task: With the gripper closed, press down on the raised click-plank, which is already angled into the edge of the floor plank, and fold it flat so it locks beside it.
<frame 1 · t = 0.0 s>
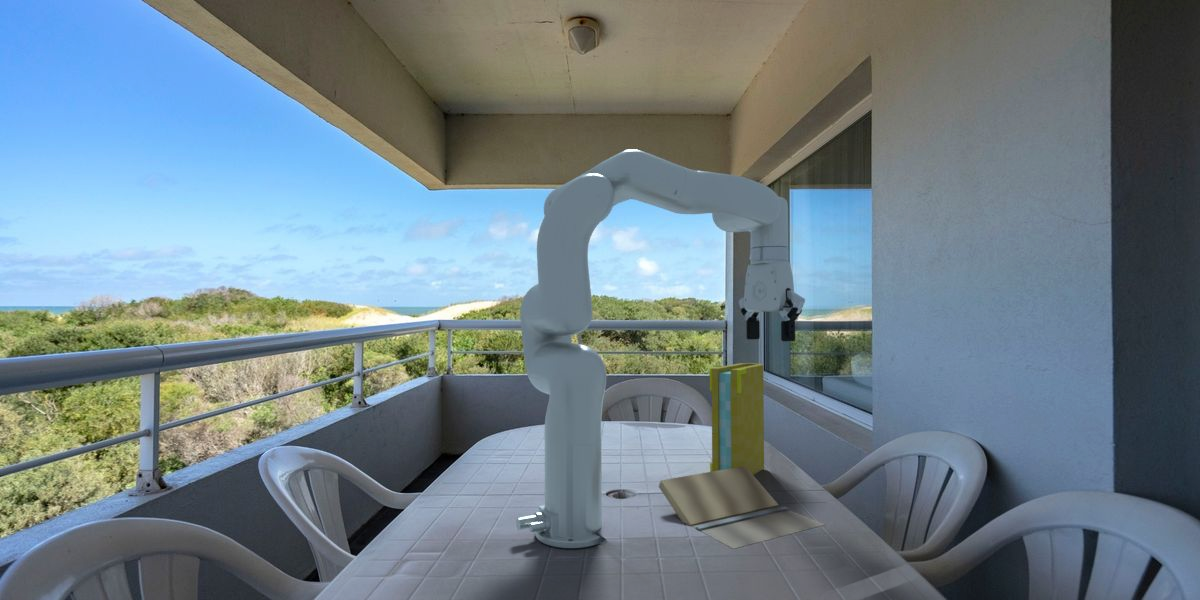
hand: (770, 340, 115), 31 cm above the table, fingers open, 9 cm apart
laid plank: (759, 534, 93), on the table
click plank: (718, 495, 101), point 4 cm above the table, hinge at 30.0°
book: (741, 480, 124), on the table
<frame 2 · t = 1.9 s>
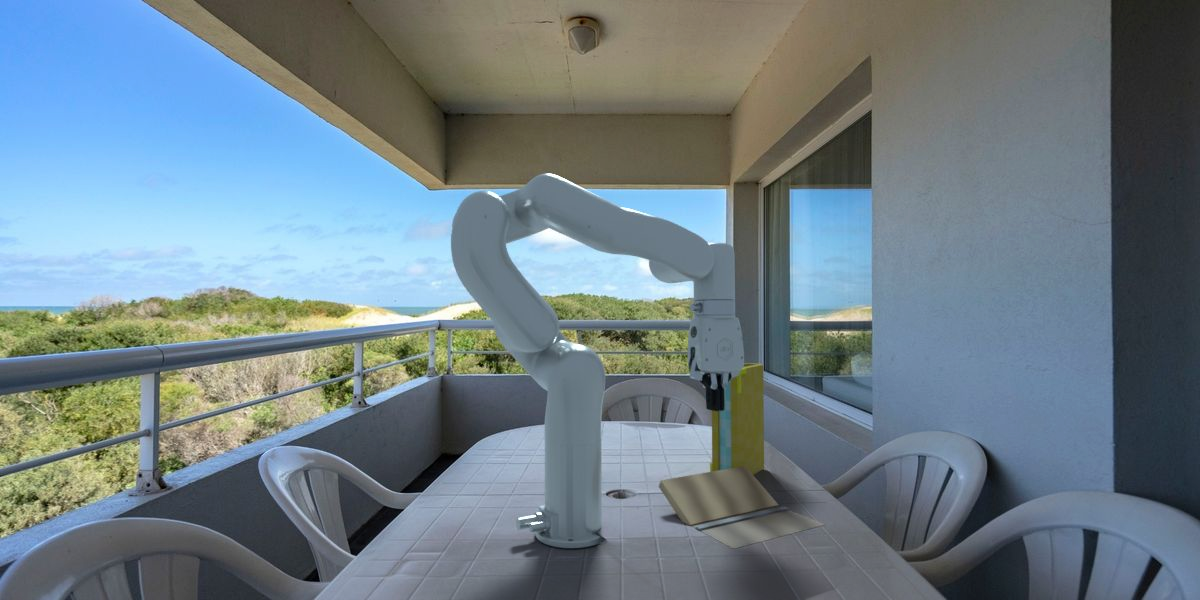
hand: (715, 409, 103), 19 cm above the table, fingers closed
nothing on the table moved.
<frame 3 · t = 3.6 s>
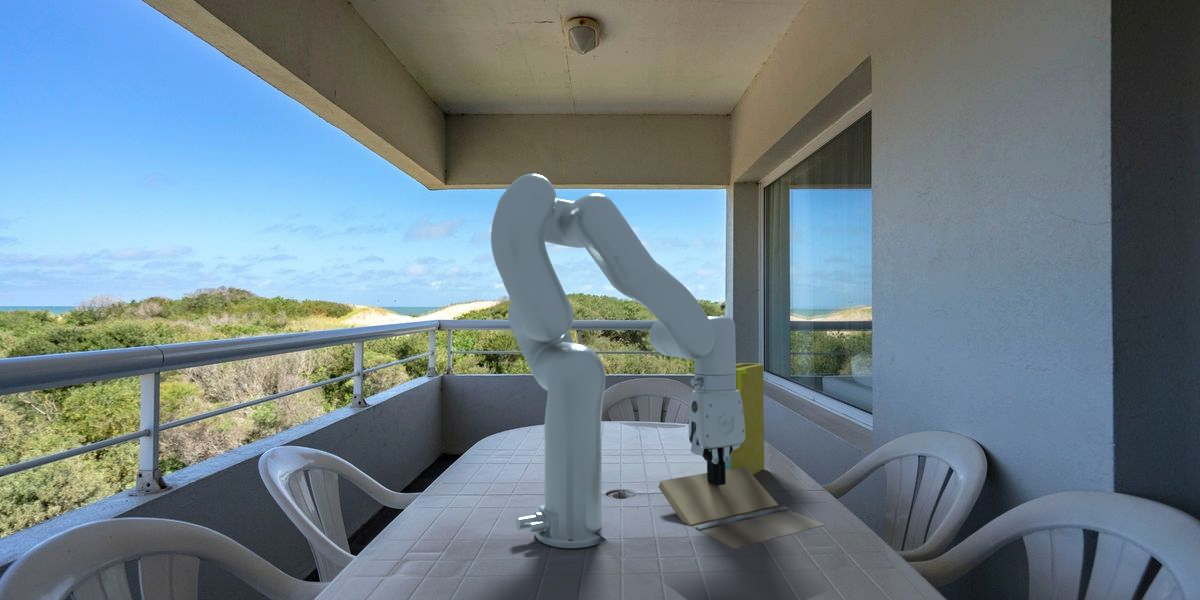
hand: (716, 483, 102), 6 cm above the table, fingers closed
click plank: (718, 495, 101), point 3 cm above the table, hinge at 29.2°, touching gripper
everything else where it was.
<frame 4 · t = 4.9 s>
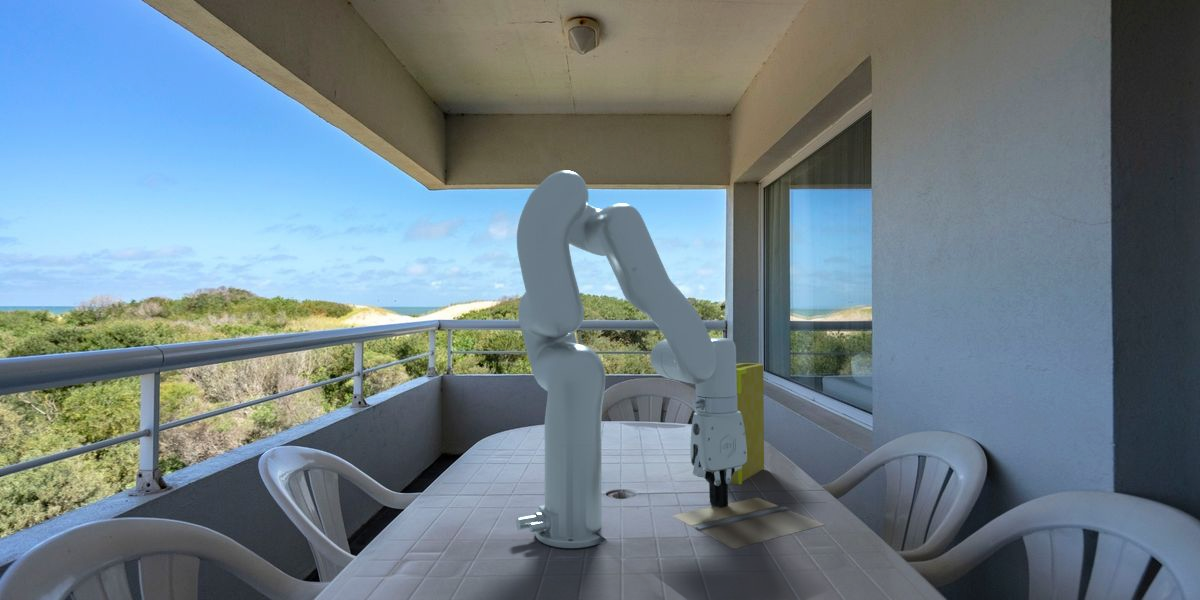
hand: (718, 504, 103), 1 cm above the table, fingers closed
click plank: (717, 510, 102), point 1 cm above the table, hinge at -0.5°, touching gripper
everything else where it was.
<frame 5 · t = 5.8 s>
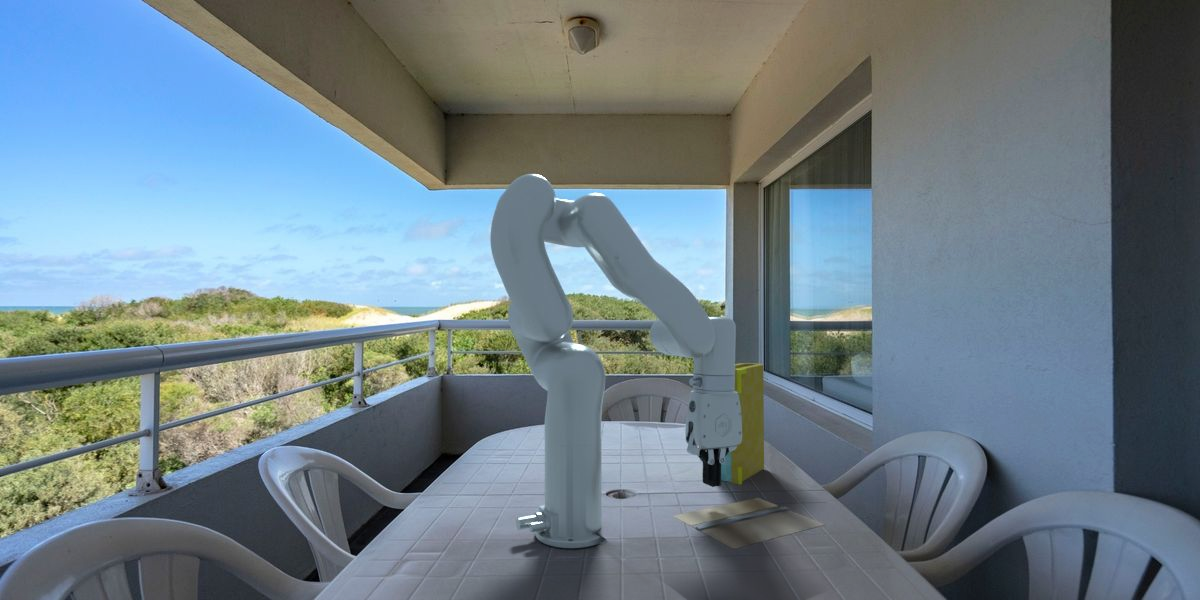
hand: (711, 484, 102), 5 cm above the table, fingers closed
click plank: (717, 510, 102), point 1 cm above the table, hinge at -0.5°
everything else where it was.
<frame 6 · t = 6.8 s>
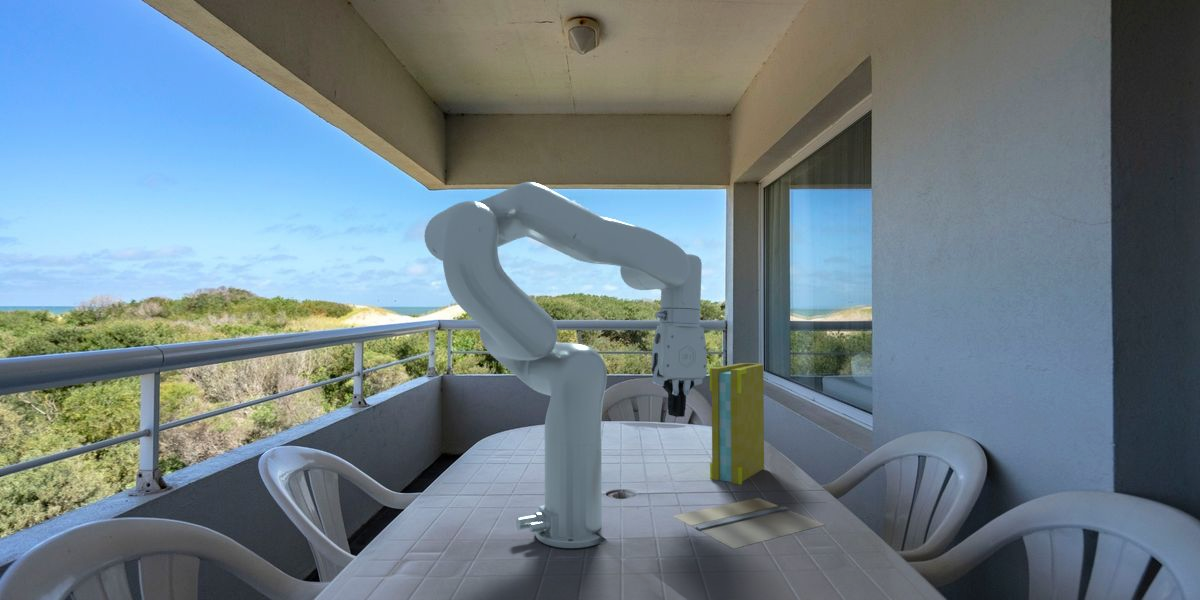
hand: (676, 415, 106), 17 cm above the table, fingers closed
nothing on the table moved.
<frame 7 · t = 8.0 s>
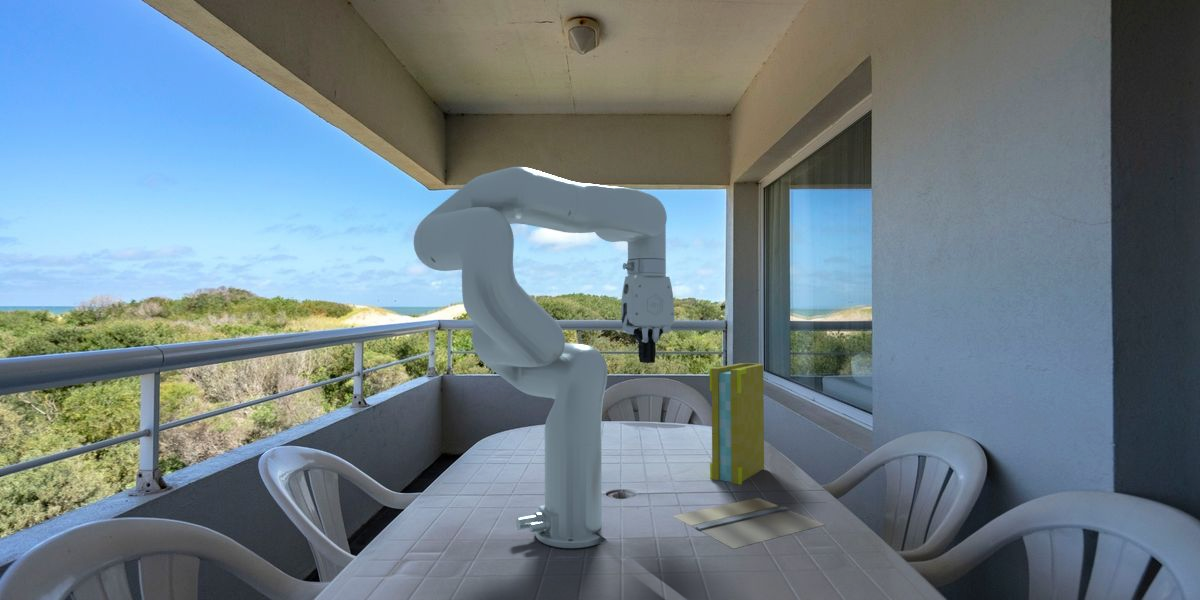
hand: (647, 362, 110), 27 cm above the table, fingers closed
nothing on the table moved.
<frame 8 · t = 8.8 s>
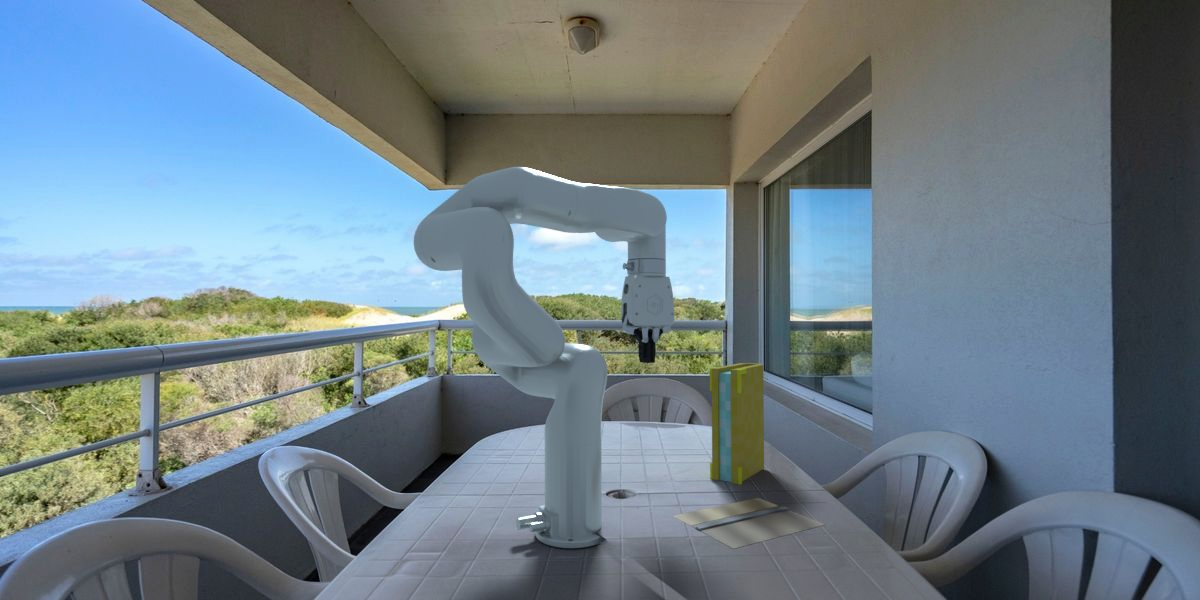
hand: (647, 362, 110), 27 cm above the table, fingers closed
nothing on the table moved.
at the end: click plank at +0° (first picture: +30°); book moved 0.2 cm from its start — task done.
